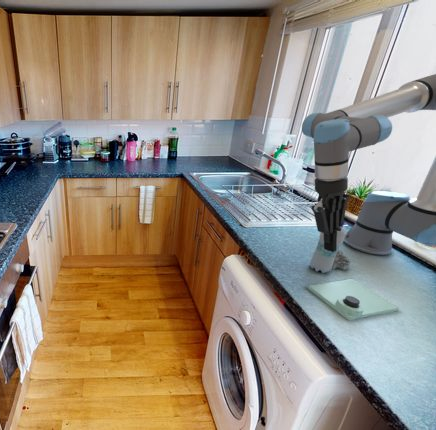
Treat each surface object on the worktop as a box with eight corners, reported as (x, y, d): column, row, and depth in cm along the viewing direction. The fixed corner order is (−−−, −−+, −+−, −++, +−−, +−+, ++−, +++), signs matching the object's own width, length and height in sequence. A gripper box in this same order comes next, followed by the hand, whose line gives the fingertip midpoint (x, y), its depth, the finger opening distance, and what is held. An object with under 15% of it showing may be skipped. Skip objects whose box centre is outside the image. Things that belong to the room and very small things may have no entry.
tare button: (349, 299, 84) (351, 295, 83) (360, 307, 81) (362, 302, 80) (340, 301, 83) (343, 296, 82) (351, 309, 80) (353, 304, 79)
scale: (351, 281, 96) (355, 274, 95) (397, 311, 83) (402, 303, 82) (307, 288, 92) (310, 281, 91) (348, 320, 80) (352, 312, 78)
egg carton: (314, 253, 112) (318, 244, 110) (336, 255, 110) (339, 246, 109) (326, 268, 102) (330, 258, 101) (350, 271, 101) (354, 261, 99)
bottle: (333, 270, 101) (354, 220, 93) (326, 277, 98) (347, 225, 89) (312, 261, 106) (330, 212, 98) (304, 268, 102) (323, 217, 94)
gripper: (332, 169, 86) (332, 238, 94) (301, 182, 82) (303, 253, 90) (361, 171, 79) (357, 245, 87) (328, 186, 75) (328, 262, 83)
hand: (330, 249), depth 88 cm, fingers closed
